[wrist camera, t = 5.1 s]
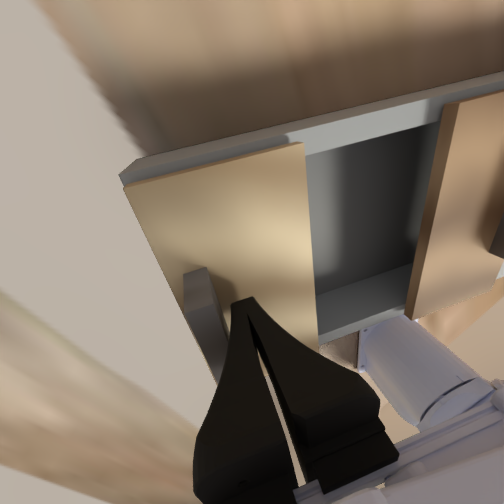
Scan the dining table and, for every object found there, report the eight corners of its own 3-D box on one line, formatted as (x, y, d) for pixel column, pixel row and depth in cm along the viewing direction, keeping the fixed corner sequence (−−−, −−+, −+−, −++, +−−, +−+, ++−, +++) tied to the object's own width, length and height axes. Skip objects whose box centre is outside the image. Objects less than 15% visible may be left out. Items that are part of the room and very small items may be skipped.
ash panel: (314, 347, 19) (341, 392, 16) (219, 383, 18) (227, 438, 15) (296, 141, 11) (342, 149, 8) (126, 184, 10) (102, 212, 7)
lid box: (488, 238, 27) (547, 260, 22) (210, 334, 23) (217, 383, 18) (554, 58, 18) (666, 40, 14) (136, 159, 14) (118, 174, 10)
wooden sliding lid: (480, 285, 21) (534, 314, 18) (403, 314, 20) (445, 350, 17) (564, 73, 13) (684, 58, 10) (444, 103, 12) (536, 97, 9)
